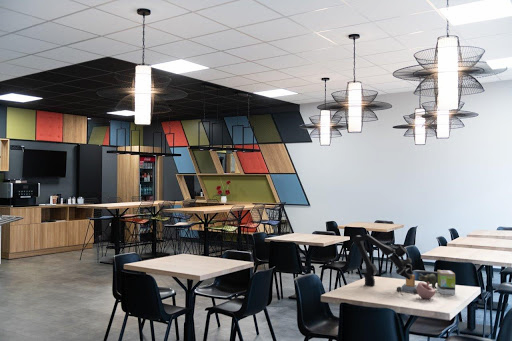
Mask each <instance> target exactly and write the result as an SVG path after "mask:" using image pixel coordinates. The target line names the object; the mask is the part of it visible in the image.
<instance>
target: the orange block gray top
mask: <svg viewBox="0 0 512 341" xmlns="http://www.w3.org/2000/svg"><path fill="white" fill-rule="evenodd" d="M408 275H409V277H410V278H411V279H410V280H409V279H407V278H405V284H406V286H410V287H415V285H416V275H415V274H414V273H413V274H408Z"/></svg>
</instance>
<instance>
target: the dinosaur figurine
mask: <svg viewBox="0 0 512 341" xmlns="http://www.w3.org/2000/svg"><path fill="white" fill-rule="evenodd" d="M418 274H419V276H418V280H419V281H423V283H425V284H427V282H429V283H430V284H429V285H431V287H432V288H433V289H434V290H435V289H437V274H434V273H430V274H429V273H427V274H426V275H423V274H422V273H420V272H419V273H418Z"/></svg>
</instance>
